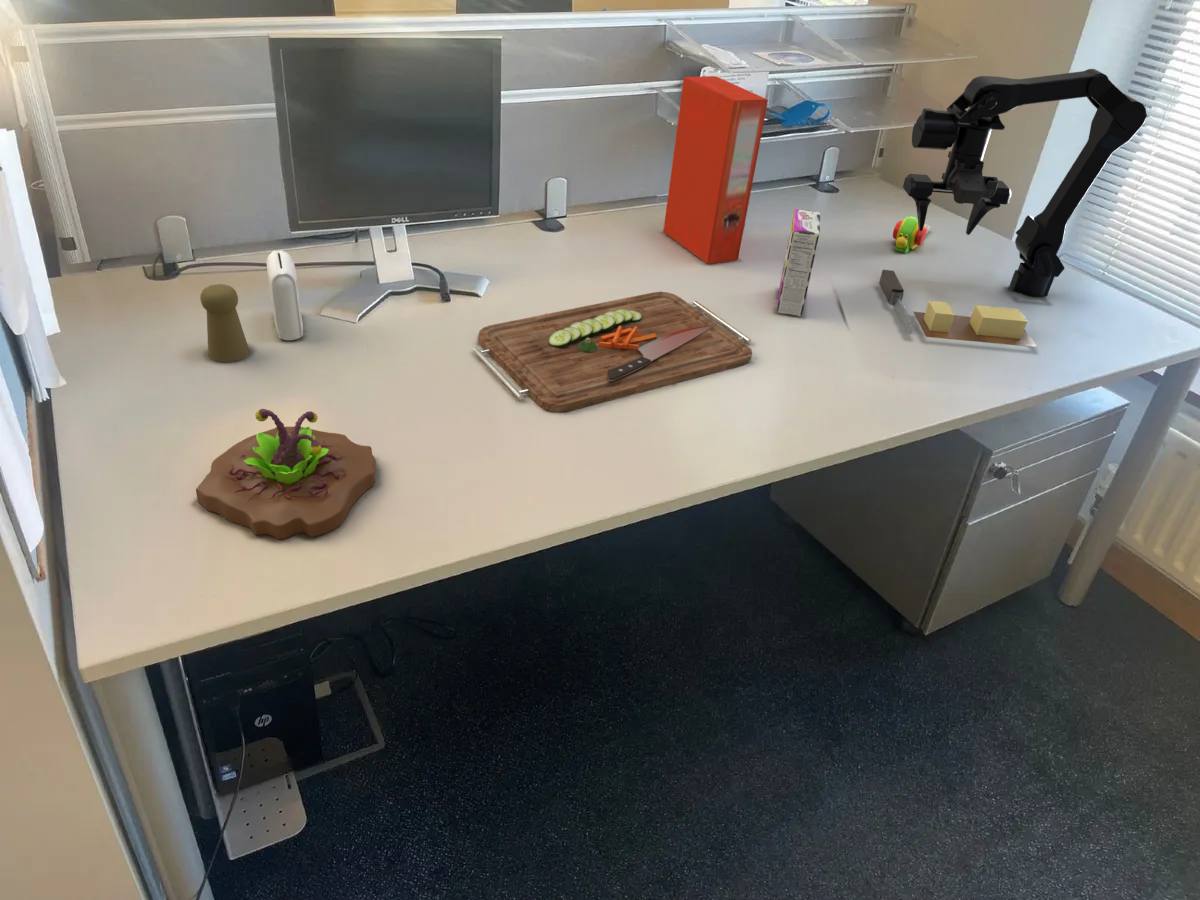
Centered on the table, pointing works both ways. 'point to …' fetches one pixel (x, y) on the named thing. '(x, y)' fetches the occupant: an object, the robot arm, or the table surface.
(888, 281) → the knife
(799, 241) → the candy bar box
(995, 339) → the butter board
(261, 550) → the table surface
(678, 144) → the file binder
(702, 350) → the chopping board
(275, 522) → the plant
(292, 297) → the photo printer
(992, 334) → the butter block
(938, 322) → the butter slice
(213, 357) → the olive brown pawn
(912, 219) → the toy measuring tape
